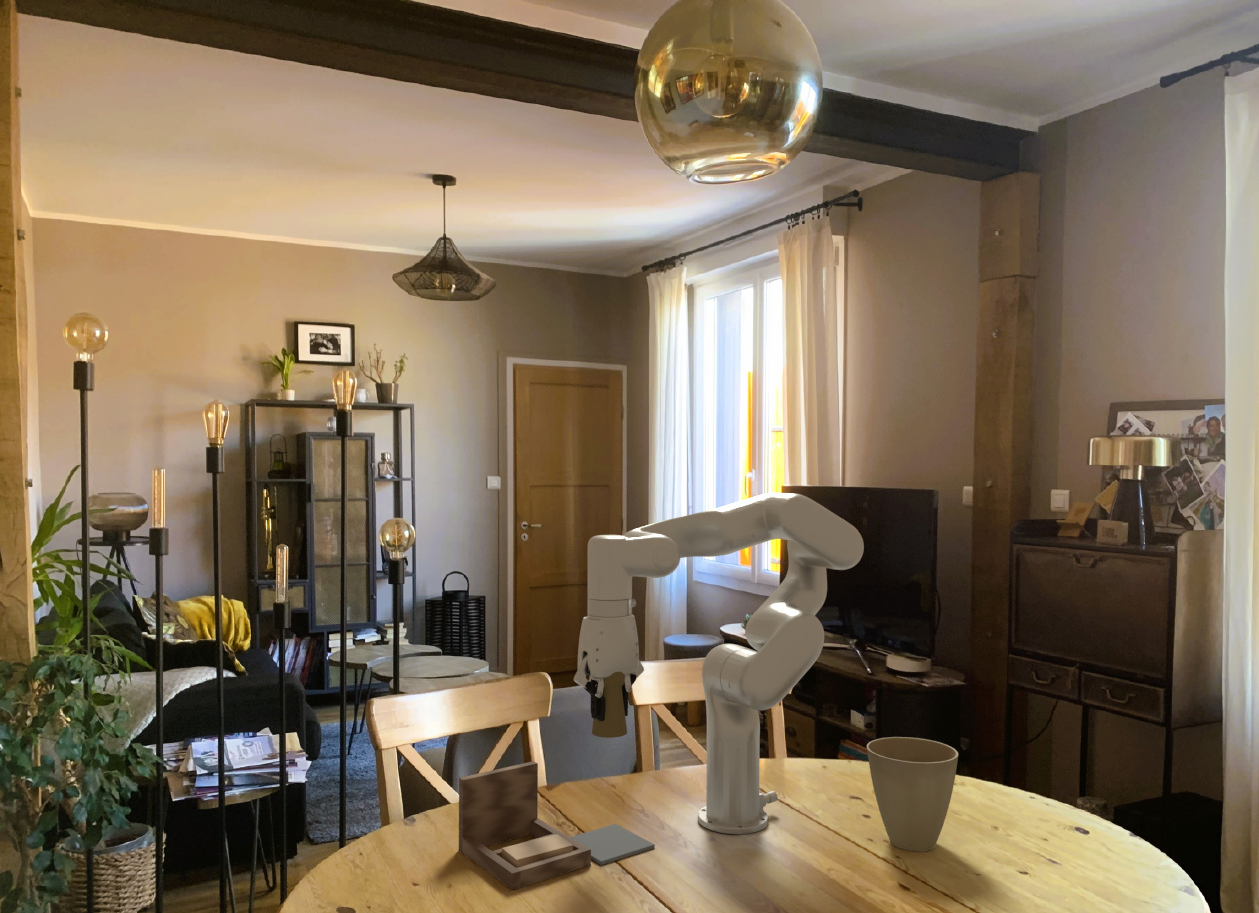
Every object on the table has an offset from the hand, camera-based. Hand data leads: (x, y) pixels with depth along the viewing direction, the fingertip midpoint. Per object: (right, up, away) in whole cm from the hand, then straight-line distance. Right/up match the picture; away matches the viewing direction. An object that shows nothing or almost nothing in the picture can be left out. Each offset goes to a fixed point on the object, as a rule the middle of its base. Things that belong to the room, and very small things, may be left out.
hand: (609, 716), depth 154 cm
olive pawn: (0, -3, 0) cm, 3 cm away
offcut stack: (-11, -22, -9) cm, 26 cm away
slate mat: (0, -22, 0) cm, 22 cm away
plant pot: (+52, -22, +1) cm, 56 cm away
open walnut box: (-14, -22, -5) cm, 26 cm away
